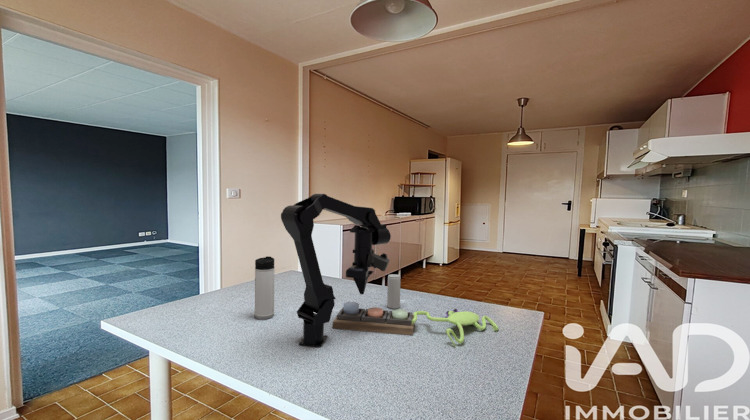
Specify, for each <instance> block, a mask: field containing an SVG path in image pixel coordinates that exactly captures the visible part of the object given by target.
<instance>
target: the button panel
mask: <svg viewBox="0 0 750 420" xmlns="http://www.w3.org/2000/svg"><path fill="white" fill-rule="evenodd" d="M368 309H369V308H360V307H359V313H357V314H353V315H349V314H345V313H344V306H343V307H342V308H341V309H340V310H339V311H338V313H337V314H336V317H335V318H334V320H333V321H332V329H336V330H344V331H345V330H347V331H359V332H368V333H382V334H391V335H403V336H413V335H414V328H415V323H414V324H412V323H411V321H412V320H413V318H414V316H413V312H412V311H411V312H409V311H407V312H408V320H403V319H392V311H393V310H383V318H379V317H368Z"/></svg>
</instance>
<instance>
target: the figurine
mask: <svg viewBox="0 0 750 420" xmlns="http://www.w3.org/2000/svg"><path fill="white" fill-rule="evenodd" d="M412 315H413V316H414V318H413V320H412V321H411V323H412V324H414V325H415V323H416V322H417V320H418V316H421V315H422V316H423V315H424V316H426V319H427V320H429V321H432V322H440V323H446V322H448V323H450V324H453V325H456V326H457V329H458V330H459V331H458V332H459V338H458V337H457V335H456V333H455V332H454V330H453V329H451V328H449V327H448V328H446V329H445V334H446V336H447V337H448V339H449V340H450V341H451V343H452V345H453V347H454V348H455V349H456V348H457V347H456V343H455V342H454V340H455V341H456V342H457V343H458V344H463V343H464V341H465V333H464V328H463V327H464V326H466V327H467V326H470V325H472V326H475V328H477V329H478V330H479V331H483V330H485V329H486V326H487V323H486V322H489V324H491V326H492V329H493V330H494V331H495V332H498V331H499V327H498V325H497V323H495V322H494V320H492V319H491V318H490V317H489V316H487V315H483V316H482V317H481V322H482V323H481V325H482V326H481V325H480V324H479V323H478V321H479V320H480V315H478V314H477V313H474V312H472V311H467V310H464V311H458V309H457V308H454V309H453V310H447V311H446V312H445V315H446V317H434V316H431V315H430V311H429V312H428V311H425V310H418V311H414V312H412ZM451 334H452V336H453V337H452V336H451ZM452 338H454V340H453V339H452Z"/></svg>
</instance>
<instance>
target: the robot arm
mask: <svg viewBox="0 0 750 420" xmlns="http://www.w3.org/2000/svg"><path fill="white" fill-rule="evenodd" d="M323 211H326V212H329V213H332V214H336V215H338V216H341V217H345V218H346V219H347V220H348V221H349V222H351V223H353V224H354V225H353V227H352V228H351V229H350V230H349V233H354V248H353V249H352V254H353V256H354V257H353V262H352V264H351V266H350V267H348V268H347V269H346V270H345V278H347V279H348V278H350V279H353V281H354V283H355V285H356V287H357V290H358V293H359V295H364V294H365V291H366V286H367V283H368V279H369V277H370V276H371V275H372V274H373V273H374V271H373V270H370V268H373V269H378V270H380V271H381V272H385V271H386V270H387V268H388V266H389V263H390V259H389V258H388V254H386V253H385V252H383V253H382V254H376V253H375V250H374V248H373V246H375V245H376V246H377V245H386V244H388V243H389V242H390V240H391V237H392V236H391V232H390V230H389V229H388V228H387V224H384V223H383V224H382V223H381V222H380V219H379V217H378V216H377V214H376V210H375V209H374V208H373V207H367V206H366V207H365V206H359V205H353V204H350V203H347V202H346V201H342V200H340V199H336V198H334V197H331V196H329V195H327V194H326V193H313V194H312V195H310V196H309V197H307V198H305V199H302V200H300V201H298V202H296V203H295V204H293V205H287V206H285V207H284V208H283V210H282V212H281V213H280V219H281V222H282V224H283V227H284V229H285V231H286V232H287V233H288V234H289V235H290V238H292V241H293V242H294V245H295V246H294V247H295V250H296V254H297V257H298V262H299V264H300V267H301V268H300V269H301V272H302V276H303V280H304V282H305V283H304V284H305V289H304V292H303V300H304V301H303V302H302V304H301V305H300V306H299V308H298V310H297V311H296V314H297V317H298V318H299V319H301V320H303V322H302V323H303V326H302V332H303V333H302V334H303V336H302V337H303V338H302V339H301V340H299V342H298V346H306V347H308V346H309V347H316V348H320V347H322V346H323V345H324V344H325V342H326V340H327V339H328V337H329V336H328V335H325V324H327V323H329V322H330V320H331V316H332V313H333V310H334V308H335V304H336V303H335V300H336V296H335V295H334V288H333V287H332V286H331V285H329V284H326V283H325V282H324V280H323V277H322V272H321V269H320V266H319V265H320V264H319V261H318V256H317V253H316V249H315V248H316V247H315V245H314V241H313V237H312V234H313V231H314V220H315V219H316V218H317V217H319V216H320V215H321V213H322V212H323Z"/></svg>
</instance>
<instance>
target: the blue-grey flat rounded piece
mask: <svg viewBox="0 0 750 420" xmlns="http://www.w3.org/2000/svg"><path fill="white" fill-rule="evenodd" d="M343 307H344V313H345V314H349V315H353V314H357V313H359V308H360V303H358V302H356V301H348V302H344V303H343Z"/></svg>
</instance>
